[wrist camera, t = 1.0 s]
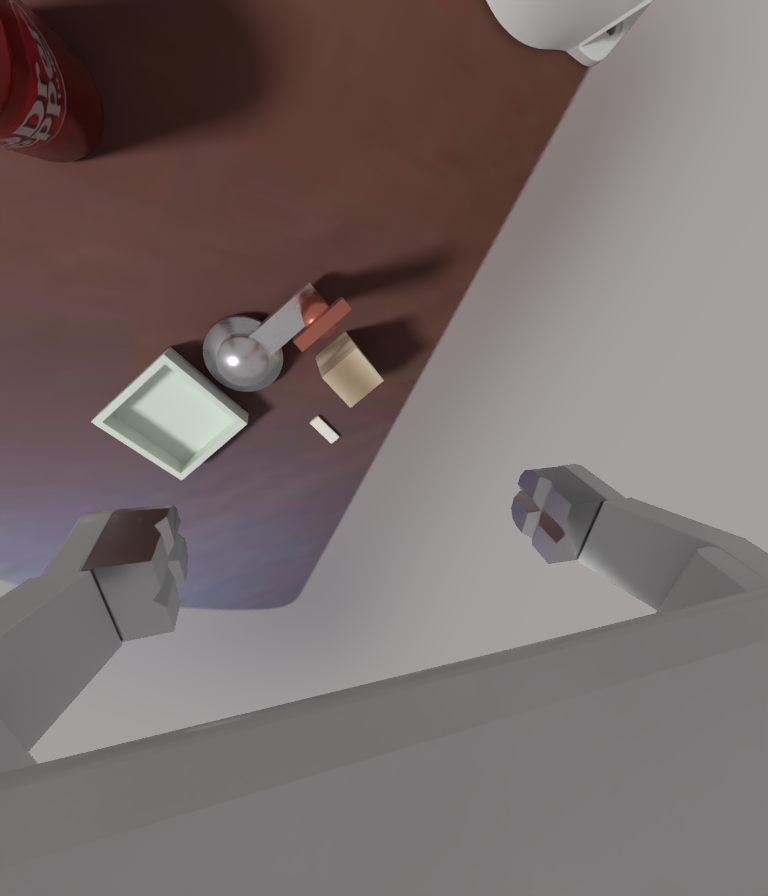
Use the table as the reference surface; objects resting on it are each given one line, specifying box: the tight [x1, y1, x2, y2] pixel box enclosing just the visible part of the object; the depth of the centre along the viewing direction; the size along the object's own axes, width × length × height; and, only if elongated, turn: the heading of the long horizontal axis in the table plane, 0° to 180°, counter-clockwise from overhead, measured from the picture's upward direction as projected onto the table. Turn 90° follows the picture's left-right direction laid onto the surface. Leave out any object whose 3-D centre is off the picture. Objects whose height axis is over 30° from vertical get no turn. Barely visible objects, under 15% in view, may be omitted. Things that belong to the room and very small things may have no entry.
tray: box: [91, 347, 249, 480], centre depth 36 cm, size 9×9×2 cm
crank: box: [216, 281, 351, 387], centre depth 30 cm, size 12×4×10 cm, turn 127°
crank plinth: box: [203, 315, 283, 392], centre depth 35 cm, size 7×7×1 cm
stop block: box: [315, 331, 384, 408], centre depth 36 cm, size 4×4×6 cm
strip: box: [310, 416, 339, 444], centre depth 42 cm, size 1×4×1 cm, turn 37°
